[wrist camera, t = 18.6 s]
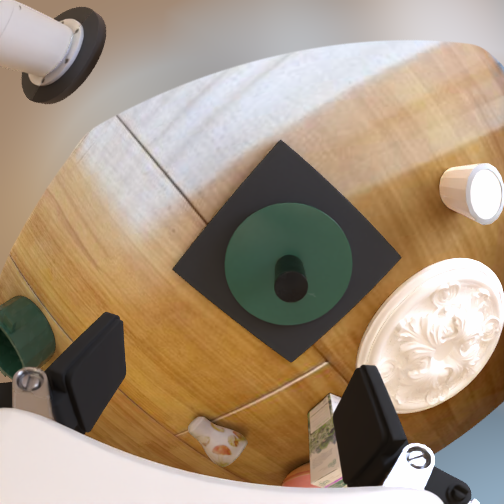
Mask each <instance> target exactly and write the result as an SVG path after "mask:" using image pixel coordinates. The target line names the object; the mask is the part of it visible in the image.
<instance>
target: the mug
mask: <svg viewBox="0 0 504 504" xmlns="http://www.w3.org/2000/svg"><path fill="white" fill-rule="evenodd" d="M188 430H189V433H190V434H191V435H192V436H194V437H195V438H196V439H197V440H198V441H199V442H200V444H201V445H202V447H203V448H204V450H205V452H206V453H207V455H208V456H209V458H210V459H211V460H212V461H213V462H214V463H215V464H217V465H219V466H221V467H225V466H227V465H229V464H231V463H232V462H233V461H234V460H236V459H237V458H238V456H239V455H240V454H241V453H242V451H243V450H244V448H245V447H246V445H247V440H246V438H245V437H244V436H243V435H241V434H240V433H238V432H236V431H234V430H231V429H227V428H224V427H221V426H218V425H215V424H213V423H212V422H210V421H209V420H208V419H206V418H205V417H197V418H195V419H194V420H193V421H192V422H191V423H190V424H189V426H188Z"/></svg>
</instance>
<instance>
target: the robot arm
mask: <svg viewBox="0 0 504 504" xmlns="http://www.w3.org/2000/svg"><path fill="white" fill-rule="evenodd" d="M83 37H84V31H83V27H82V25H81V23H79V22H78V21H76V20H74V19H65V20H62V21H60V22H58V21H57V20H55V19H53V18H51V17H49V16H47V15H45V14H43V13H41V12H39V11H36V10H34V9H32V8H30V7H28V6H26V5H24V4H21V3H19V2H17V1H14V0H0V67H4V68H8V69H13V70H17V71H21V72H25V73H28V75H29V78H30V81H31V82H32V83H33V84H35V85H38V86H46V85H49V84H52V83H54V82H55V81H56V80H58V79H59V78H60V77H61V76H62V75H63V74H64V73H65V72H66V71H67V70H68V69H69V67H70V66H71V65H72V63H73V62H74V60H75V59H76V57H77V55H78V53H79V51H80V48H81V45H82V42H83ZM125 375H126V362H125V349H124V331H123V321H122V320H120V318H119V316H118V315H114V314H111V313H108V312H105V313H103V314H102V315H101V316H100V317H99V318H98V319H97V320H96V321H95V322H94V323H93V324H92V325H91V326H90V327H89V328H88V329H87V330H86V331H85V332H84V333H82V334H81V335H80V336H79V337H78V338H77V339H76V340H75V341H74V342H73V343H72V344H71V345H70V346H69V347H68V348H67V349H66V350H65V351H64V352H63V353H62V354H61V355H60V356H59V357H58V358H57V359H56V360H55V361H54V362H53V363H52V364H51V365H50V366H49V367H48V368H47V369H46V370H45V371H43V370H41V369H40V368H37V367H24V368H22V369H20V370H18V371H17V372H16V373H15V375H14V376H13V380H12V382H8V383H0V504H480V503H479V502H478V501H477V500H475V499H474V500H473V501H471V500H470V499H471V490H470V488H469V487H468V485H467V484H466V483H464V482H463V481H461V480H459V479H457V478H455V477H453V476H451V475H449V474H447V473H446V472H444V471H441V470H440V469H438V468H436V467H434V463H435V457H434V455H433V453H432V451H431V450H430V449H429V448H428V447H426V446H425V445H422V444H419V443H413V444H408V441H407V438H406V435H405V433H404V430H403V428H402V425H401V423H400V420H399V418H398V415H397V413H396V410H395V408H394V405H393V403H392V401H391V398H390V396H389V394H388V391H387V389H386V387H385V384H384V382H383V380H382V377H381V375H380V373H379V371H378V368H377V367H376V366H375V365H361V366H360V368H356V370H355V372H354V374H353V376H352V378H351V380H350V382H349V384H348V386H347V388H346V390H345V392H344V394H343V396H342V398H341V400H340V402H339V403H338V405H337V407H336V409H335V411H334V413H333V424H334V430H335V436H336V441H337V447H338V453H339V459H340V465H341V472H342V478H343V482H344V484H347V488H303V487H284V486H272V485H262V484H253V483H246V482H239V481H232V480H227V479H221V478H216V477H211V476H206V475H201V474H197V473H193V472H188V471H184V470H181V469H177V468H173V467H170V466H166V465H163V464H159V463H156V462H153V461H150V460H147V459H144V458H141V457H138V456H135V455H132V454H129V453H127V452H124V451H121V450H119V449H116V448H114V447H111V446H109V445H106V444H104V443H101V442H99V441H97V440H94V439H92V438H90V437H87V436H85V435H84V434H85V432H90V431H91V429H92V428H93V426H94V425H95V423H96V421H97V420H98V418H99V417H100V415H101V413H102V412H103V410H104V409H105V407H106V406H107V404H108V402H109V401H110V399H111V398H112V396H113V395H114V393H115V392H116V390H117V389H118V387H119V385H120V384H121V382H122V381H123V379H124V378H125Z"/></svg>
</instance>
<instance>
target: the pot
mask: <svg viewBox="0 0 504 504" xmlns="http://www.w3.org/2000/svg"><path fill="white" fill-rule="evenodd" d="M54 352H55V339H54V335H53V332H52V329H51V327H50V325H49V323H48V321H47V319H46V318H45V316H44V315H43V313H42V312H41V310H40V309H39V308H38V307H37V306H36V305H35V304H34V303H33V302H32V301H31V300H29V299H28V298H26V297H24V296H16V297H13V298H12V299H10V300H8V301H7V302H5V303H3V304H2V305H0V371H1V372H2V374H3V375H4V376H5V377H6V376H8V377H9V378H11V379H12V380H13V376H14V375H15V373H16V372H17V371H18V370H20V369H22V368H24V367H37V368H41V367H42V366H43V365H44V364H45V363H46V362H47V361H48V360H49V359H50V358H51V357H52V355H53V354H54Z"/></svg>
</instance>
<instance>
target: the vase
mask: <svg viewBox="0 0 504 504" xmlns="http://www.w3.org/2000/svg"><path fill="white" fill-rule="evenodd" d="M281 486H284V487H303V488H321V487H318V486H315V485H312V484H311V477H310V462H309V463H305V464H303V465H301V466H299V467H298V468H296V469H295V470H293V471H292V472H290V473H289V474H288V475H287V476H286V478H285V479H284V480H283V482H282V485H281Z"/></svg>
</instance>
